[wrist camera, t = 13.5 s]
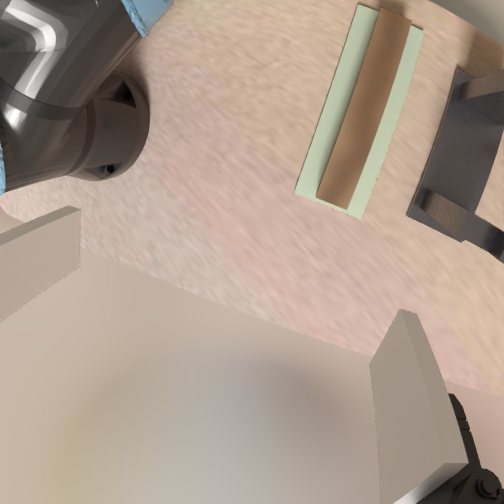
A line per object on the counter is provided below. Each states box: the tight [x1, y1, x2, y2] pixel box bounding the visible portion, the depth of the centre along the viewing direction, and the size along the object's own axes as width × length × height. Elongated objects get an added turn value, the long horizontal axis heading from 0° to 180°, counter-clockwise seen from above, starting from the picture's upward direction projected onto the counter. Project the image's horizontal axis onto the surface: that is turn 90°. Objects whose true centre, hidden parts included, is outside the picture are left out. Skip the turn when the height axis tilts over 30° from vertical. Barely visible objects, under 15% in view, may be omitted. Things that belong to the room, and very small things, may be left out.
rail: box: [316, 7, 412, 210], centre depth 28 cm, size 3×22×3 cm, turn 162°
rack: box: [406, 68, 504, 263], centre depth 24 cm, size 8×19×12 cm, turn 163°
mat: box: [294, 4, 424, 219], centre depth 30 cm, size 8×24×1 cm, turn 162°
